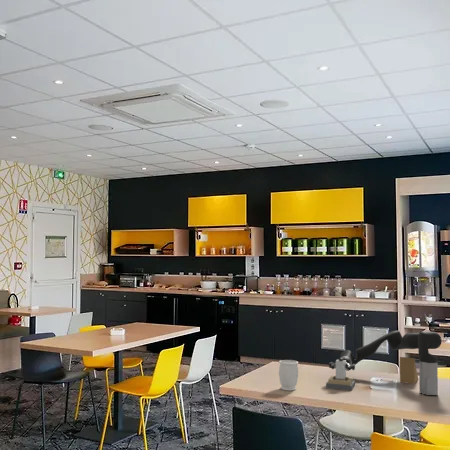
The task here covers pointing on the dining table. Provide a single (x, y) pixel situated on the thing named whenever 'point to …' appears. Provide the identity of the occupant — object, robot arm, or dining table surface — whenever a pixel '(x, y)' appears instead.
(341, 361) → the grey bottle
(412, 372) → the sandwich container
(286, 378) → the jar
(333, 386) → the charcoal dock
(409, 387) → the dining table surface
